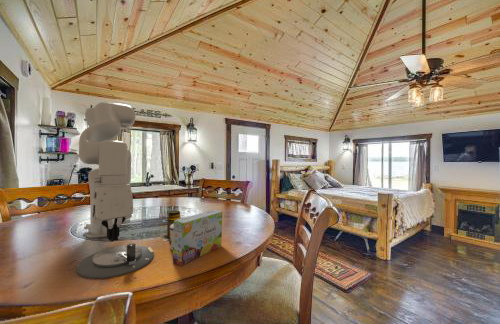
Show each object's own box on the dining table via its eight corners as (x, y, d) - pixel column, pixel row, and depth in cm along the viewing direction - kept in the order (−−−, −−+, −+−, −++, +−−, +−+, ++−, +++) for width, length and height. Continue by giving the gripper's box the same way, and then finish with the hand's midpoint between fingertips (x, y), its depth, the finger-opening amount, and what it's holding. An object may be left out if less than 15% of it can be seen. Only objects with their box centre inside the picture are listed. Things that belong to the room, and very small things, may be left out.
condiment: (183, 238, 101) (183, 212, 101) (164, 241, 96) (164, 214, 96) (178, 233, 107) (179, 209, 107) (160, 236, 102) (161, 211, 102)
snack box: (182, 266, 74) (183, 222, 74) (171, 262, 77) (172, 220, 77) (222, 246, 92) (222, 210, 92) (212, 243, 95) (212, 208, 95)
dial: (85, 258, 76) (85, 240, 75) (129, 245, 88) (130, 229, 88) (107, 275, 65) (107, 253, 65) (154, 257, 77) (154, 239, 77)
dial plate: (57, 275, 67) (57, 271, 67) (112, 246, 90) (112, 243, 90) (127, 280, 65) (127, 276, 65) (165, 249, 88) (165, 246, 88)
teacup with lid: (173, 242, 95) (173, 216, 94) (194, 243, 95) (194, 216, 95) (162, 254, 83) (163, 224, 82) (186, 255, 83) (187, 224, 83)
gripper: (89, 183, 59) (89, 251, 59) (143, 179, 71) (143, 236, 71) (79, 181, 63) (79, 245, 63) (132, 179, 75) (131, 231, 75)
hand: (113, 240), depth 67 cm, fingers closed
